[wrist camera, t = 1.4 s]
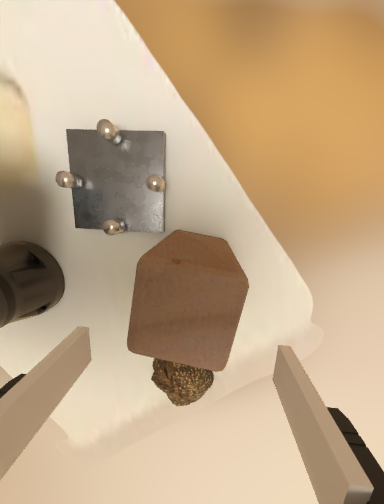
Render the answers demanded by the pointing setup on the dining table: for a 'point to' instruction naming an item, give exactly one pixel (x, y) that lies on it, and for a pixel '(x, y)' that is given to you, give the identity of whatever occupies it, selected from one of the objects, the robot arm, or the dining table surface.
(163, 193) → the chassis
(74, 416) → the dining table surface
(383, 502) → the robot arm
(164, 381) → the brown rounded lump
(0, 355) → the dining table surface
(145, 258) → the wooden block
